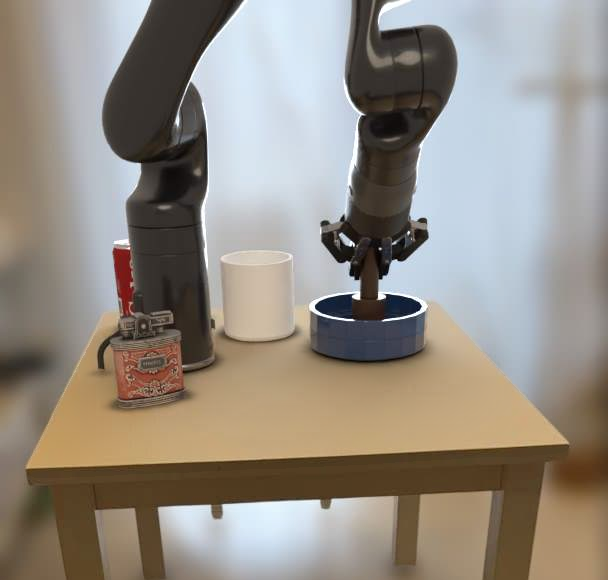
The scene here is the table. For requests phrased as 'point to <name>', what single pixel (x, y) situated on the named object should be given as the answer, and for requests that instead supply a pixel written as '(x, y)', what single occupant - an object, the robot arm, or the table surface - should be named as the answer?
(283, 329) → the mug
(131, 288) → the soda can
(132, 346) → the lighter
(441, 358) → the table surface
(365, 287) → the brown peg with base
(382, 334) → the bowl
